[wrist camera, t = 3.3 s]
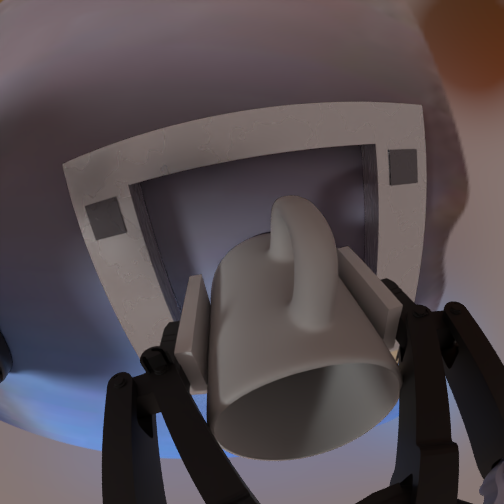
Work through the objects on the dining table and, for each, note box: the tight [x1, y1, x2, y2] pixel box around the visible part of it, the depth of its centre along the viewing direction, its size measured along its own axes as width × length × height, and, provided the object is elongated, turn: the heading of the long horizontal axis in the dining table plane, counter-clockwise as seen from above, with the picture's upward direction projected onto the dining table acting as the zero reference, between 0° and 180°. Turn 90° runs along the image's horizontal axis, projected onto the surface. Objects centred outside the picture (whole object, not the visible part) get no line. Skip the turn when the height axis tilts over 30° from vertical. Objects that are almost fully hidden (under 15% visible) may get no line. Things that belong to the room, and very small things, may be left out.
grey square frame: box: [62, 102, 427, 395], centre depth 17 cm, size 22×20×2 cm
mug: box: [207, 195, 403, 461], centre depth 13 cm, size 12×8×11 cm
